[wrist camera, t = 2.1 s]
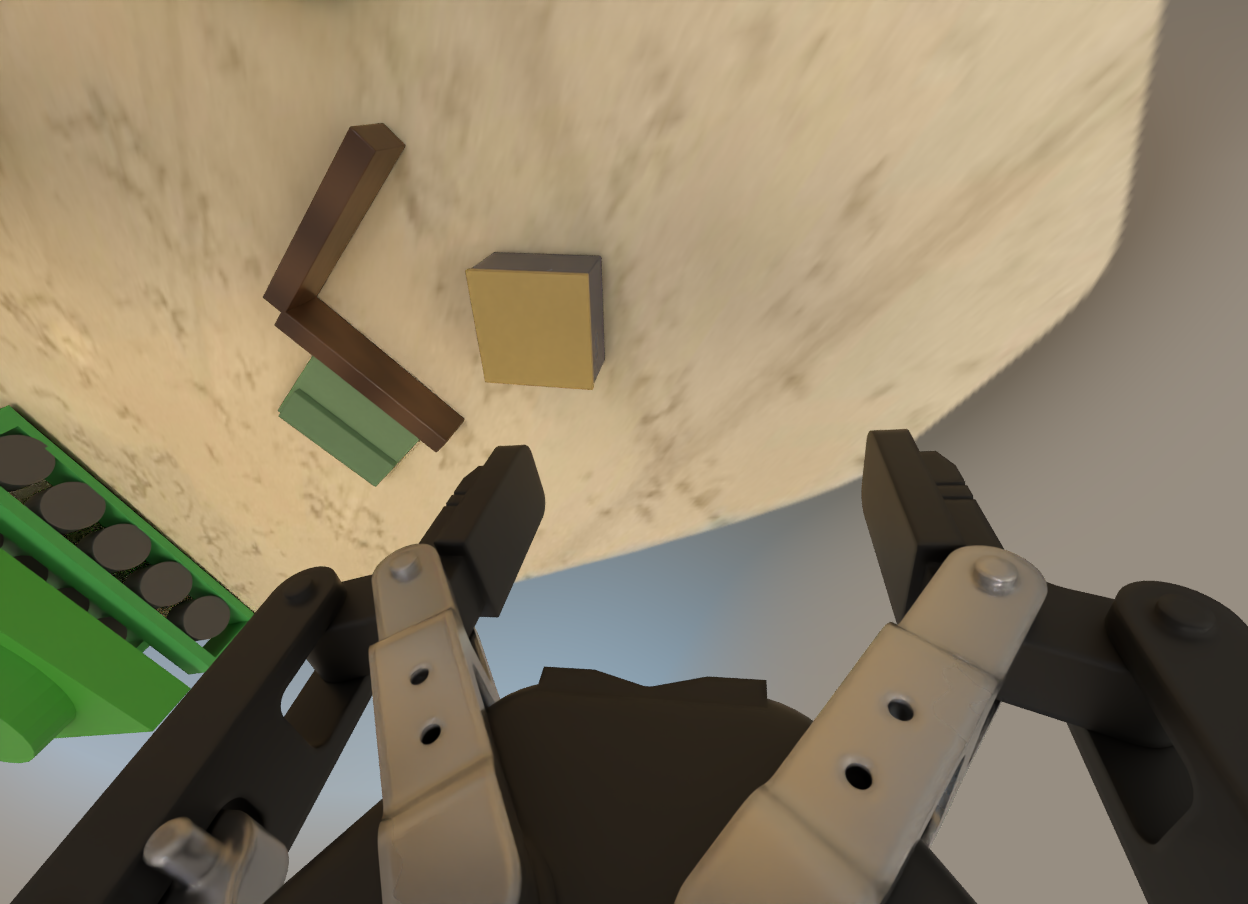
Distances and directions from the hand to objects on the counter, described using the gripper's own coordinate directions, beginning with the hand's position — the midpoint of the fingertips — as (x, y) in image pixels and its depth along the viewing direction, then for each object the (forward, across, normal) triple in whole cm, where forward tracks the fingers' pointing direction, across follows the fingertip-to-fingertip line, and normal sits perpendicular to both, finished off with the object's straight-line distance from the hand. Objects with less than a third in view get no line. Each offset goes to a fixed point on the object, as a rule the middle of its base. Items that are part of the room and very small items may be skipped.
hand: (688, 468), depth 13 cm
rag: (+20, +28, +9) cm, 35 cm away
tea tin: (+20, +10, +2) cm, 22 cm away
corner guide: (+20, +22, 0) cm, 30 cm away
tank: (+20, +69, +20) cm, 74 cm away
